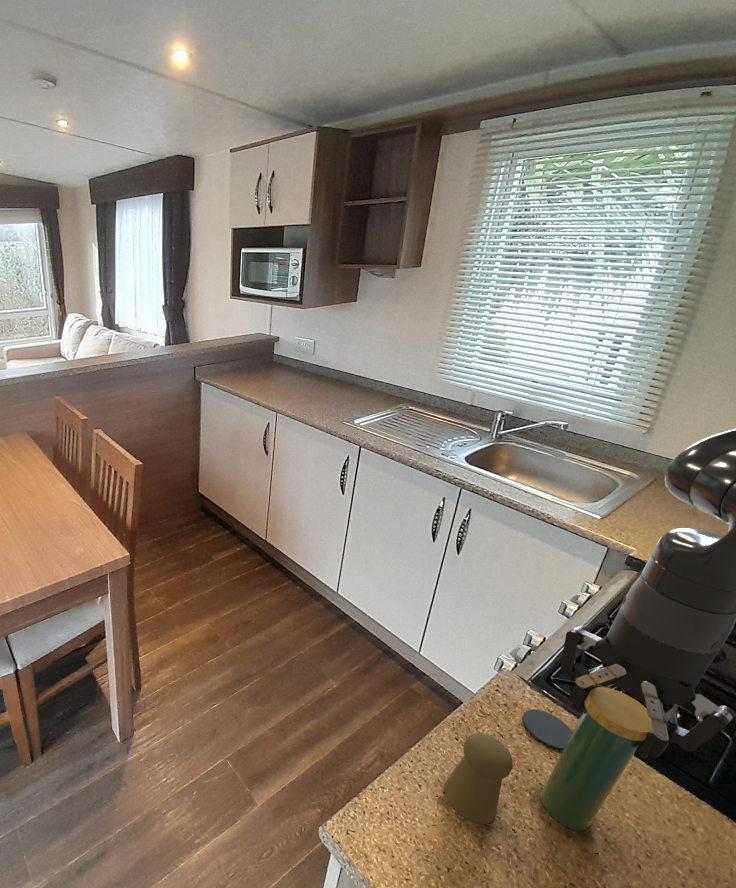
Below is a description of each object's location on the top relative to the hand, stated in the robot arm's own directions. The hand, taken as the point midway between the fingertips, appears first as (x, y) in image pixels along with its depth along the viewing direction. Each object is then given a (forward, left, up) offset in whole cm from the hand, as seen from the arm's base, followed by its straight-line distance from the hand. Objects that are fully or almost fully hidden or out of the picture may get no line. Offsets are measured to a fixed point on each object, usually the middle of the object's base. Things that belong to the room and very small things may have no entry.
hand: (610, 728), depth 57 cm
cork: (+12, +1, -16) cm, 20 cm away
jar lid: (0, 0, +3) cm, 3 cm away
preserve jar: (0, 0, -16) cm, 16 cm away
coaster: (-4, -12, -16) cm, 21 cm away
